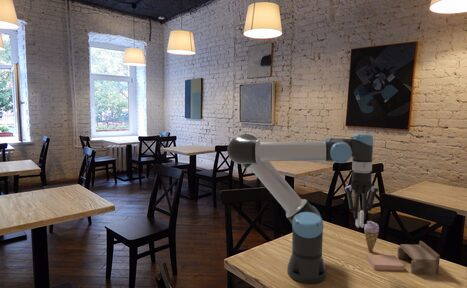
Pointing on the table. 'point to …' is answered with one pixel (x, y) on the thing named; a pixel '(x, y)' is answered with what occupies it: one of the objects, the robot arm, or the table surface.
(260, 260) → the table surface
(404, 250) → the brown channel bracket
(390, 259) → the pinkish brown block
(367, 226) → the ice cream cone
